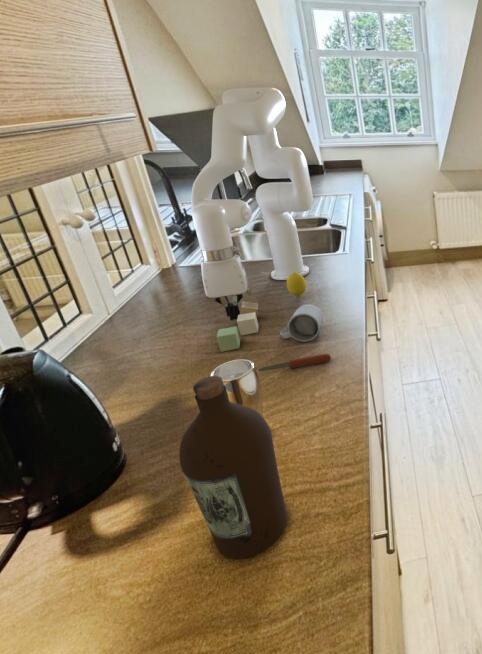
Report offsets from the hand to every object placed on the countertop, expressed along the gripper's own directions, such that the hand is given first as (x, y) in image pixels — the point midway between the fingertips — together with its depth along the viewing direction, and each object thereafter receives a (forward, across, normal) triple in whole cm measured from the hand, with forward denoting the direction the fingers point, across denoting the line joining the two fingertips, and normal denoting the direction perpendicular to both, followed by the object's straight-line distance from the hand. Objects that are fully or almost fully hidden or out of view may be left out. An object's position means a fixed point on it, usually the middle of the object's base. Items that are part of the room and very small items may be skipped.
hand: (234, 317), depth 124 cm
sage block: (+2, 0, +13) cm, 13 cm away
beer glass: (+3, -7, +52) cm, 53 cm away
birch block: (+1, -3, 0) cm, 3 cm away
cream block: (+2, -4, +6) cm, 7 cm away
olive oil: (+4, -8, +72) cm, 72 cm away
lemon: (+2, -17, -12) cm, 21 cm away
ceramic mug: (+2, -17, +15) cm, 23 cm away
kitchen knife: (+3, -15, +30) cm, 34 cm away
